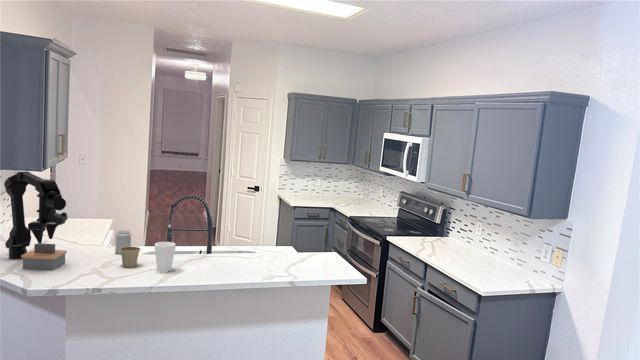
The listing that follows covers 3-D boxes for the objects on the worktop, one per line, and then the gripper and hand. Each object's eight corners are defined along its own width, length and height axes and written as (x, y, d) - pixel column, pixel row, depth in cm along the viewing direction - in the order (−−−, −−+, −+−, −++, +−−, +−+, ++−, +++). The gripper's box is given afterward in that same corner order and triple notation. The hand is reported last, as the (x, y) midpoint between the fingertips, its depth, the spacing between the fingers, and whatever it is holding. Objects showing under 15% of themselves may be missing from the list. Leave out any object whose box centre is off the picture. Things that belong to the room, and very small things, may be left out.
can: (124, 255, 239) (125, 233, 238) (112, 253, 241) (112, 231, 240) (133, 252, 247) (134, 230, 246) (121, 250, 248) (121, 229, 247)
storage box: (22, 270, 203) (23, 257, 202) (36, 264, 213) (36, 251, 213) (52, 272, 203) (53, 259, 203) (64, 265, 214) (65, 253, 214)
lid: (21, 260, 202) (21, 246, 201) (36, 253, 214) (36, 240, 213) (53, 261, 203) (53, 248, 202) (66, 255, 214) (67, 242, 214)
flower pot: (143, 266, 221) (144, 249, 220) (124, 269, 214) (124, 251, 213) (134, 262, 227) (135, 245, 227) (115, 265, 220) (116, 247, 220)
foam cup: (178, 269, 220) (179, 243, 219) (166, 274, 211) (167, 247, 210) (162, 266, 223) (163, 241, 222) (149, 271, 214) (150, 244, 213)
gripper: (54, 211, 198) (53, 246, 199) (74, 205, 216) (73, 237, 218) (27, 210, 197) (26, 245, 198) (50, 204, 216) (49, 236, 217)
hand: (45, 241), depth 208 cm, fingers open, 9 cm apart
